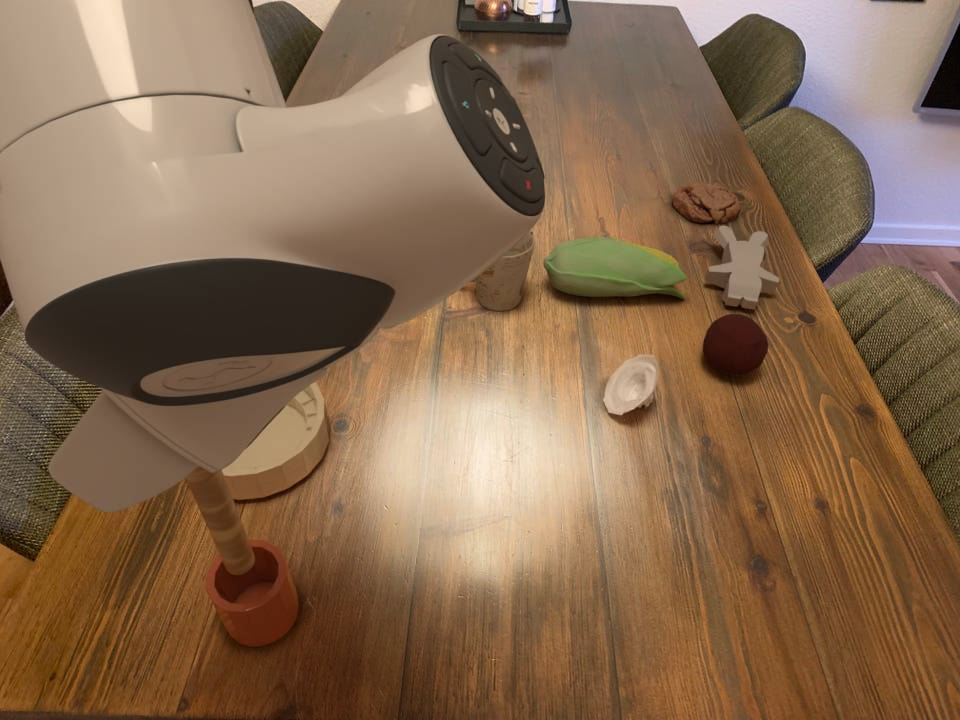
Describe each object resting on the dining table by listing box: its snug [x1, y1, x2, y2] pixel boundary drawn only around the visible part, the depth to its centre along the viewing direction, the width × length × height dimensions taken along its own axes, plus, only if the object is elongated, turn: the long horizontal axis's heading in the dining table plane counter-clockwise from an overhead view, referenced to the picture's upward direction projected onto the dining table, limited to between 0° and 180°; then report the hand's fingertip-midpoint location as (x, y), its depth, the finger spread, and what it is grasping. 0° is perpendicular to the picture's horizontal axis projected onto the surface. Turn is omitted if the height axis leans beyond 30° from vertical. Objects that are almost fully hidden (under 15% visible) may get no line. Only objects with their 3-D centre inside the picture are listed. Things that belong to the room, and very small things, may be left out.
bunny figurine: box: [704, 225, 780, 310], centre depth 100 cm, size 10×5×15 cm
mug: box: [469, 229, 536, 312], centre depth 94 cm, size 8×13×10 cm, turn 81°
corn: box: [542, 236, 687, 300], centre depth 97 cm, size 8×8×20 cm
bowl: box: [222, 381, 330, 501], centre depth 77 cm, size 16×16×5 cm
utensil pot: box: [205, 539, 300, 648], centre depth 63 cm, size 7×7×7 cm
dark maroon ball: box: [702, 313, 769, 377], centre depth 87 cm, size 7×8×7 cm
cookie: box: [672, 179, 741, 225], centre depth 114 cm, size 10×11×3 cm
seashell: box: [602, 353, 660, 416], centre depth 83 cm, size 8×5×8 cm
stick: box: [185, 466, 255, 575], centre depth 50 cm, size 2×2×26 cm
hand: (158, 384), depth 44 cm, fingers closed on stick, 2 cm apart
